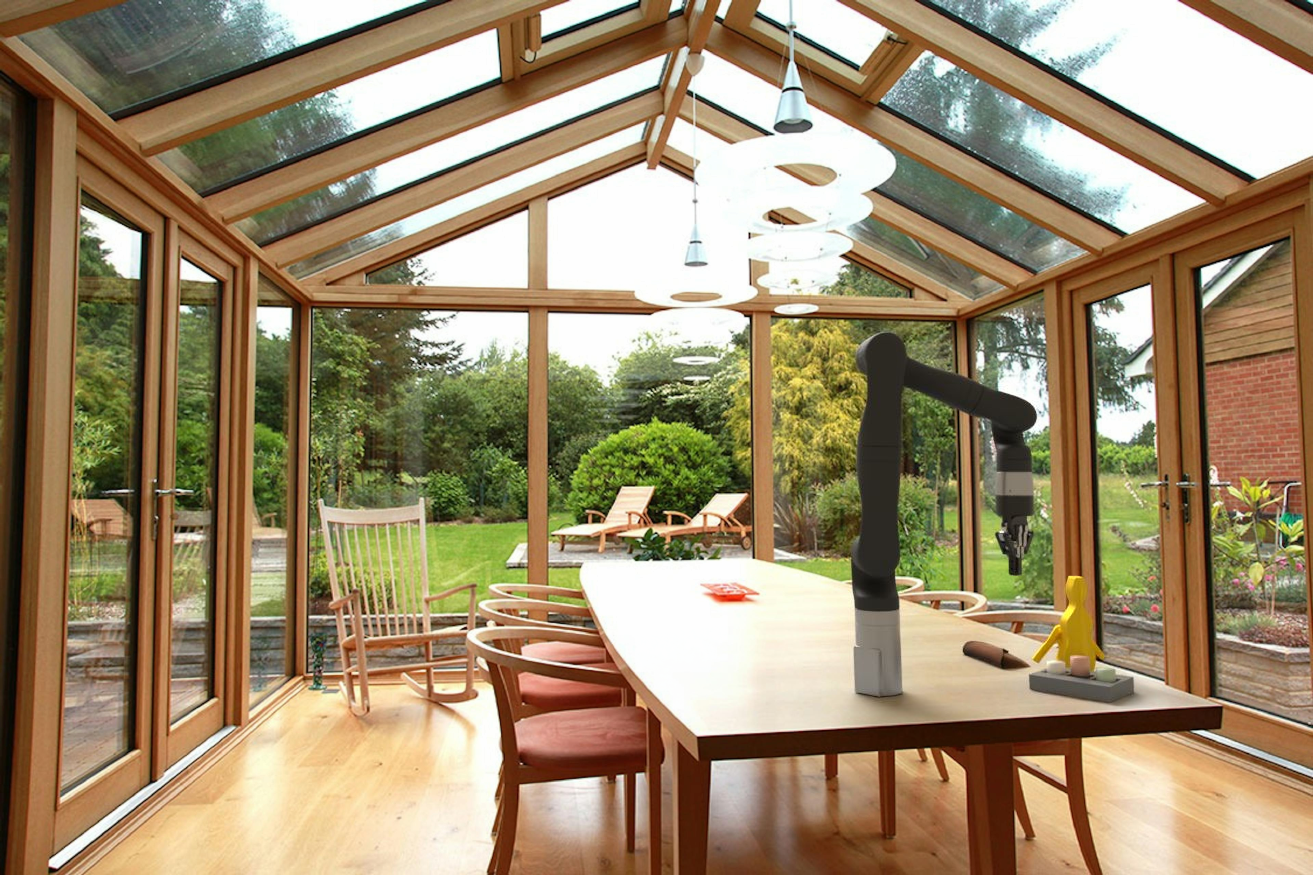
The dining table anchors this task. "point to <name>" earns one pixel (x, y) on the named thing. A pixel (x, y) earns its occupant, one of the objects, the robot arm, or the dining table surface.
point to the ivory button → (1056, 667)
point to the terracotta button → (1080, 665)
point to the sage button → (1105, 674)
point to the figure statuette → (1073, 628)
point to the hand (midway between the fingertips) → (1015, 575)
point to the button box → (1081, 685)
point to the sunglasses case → (993, 655)
